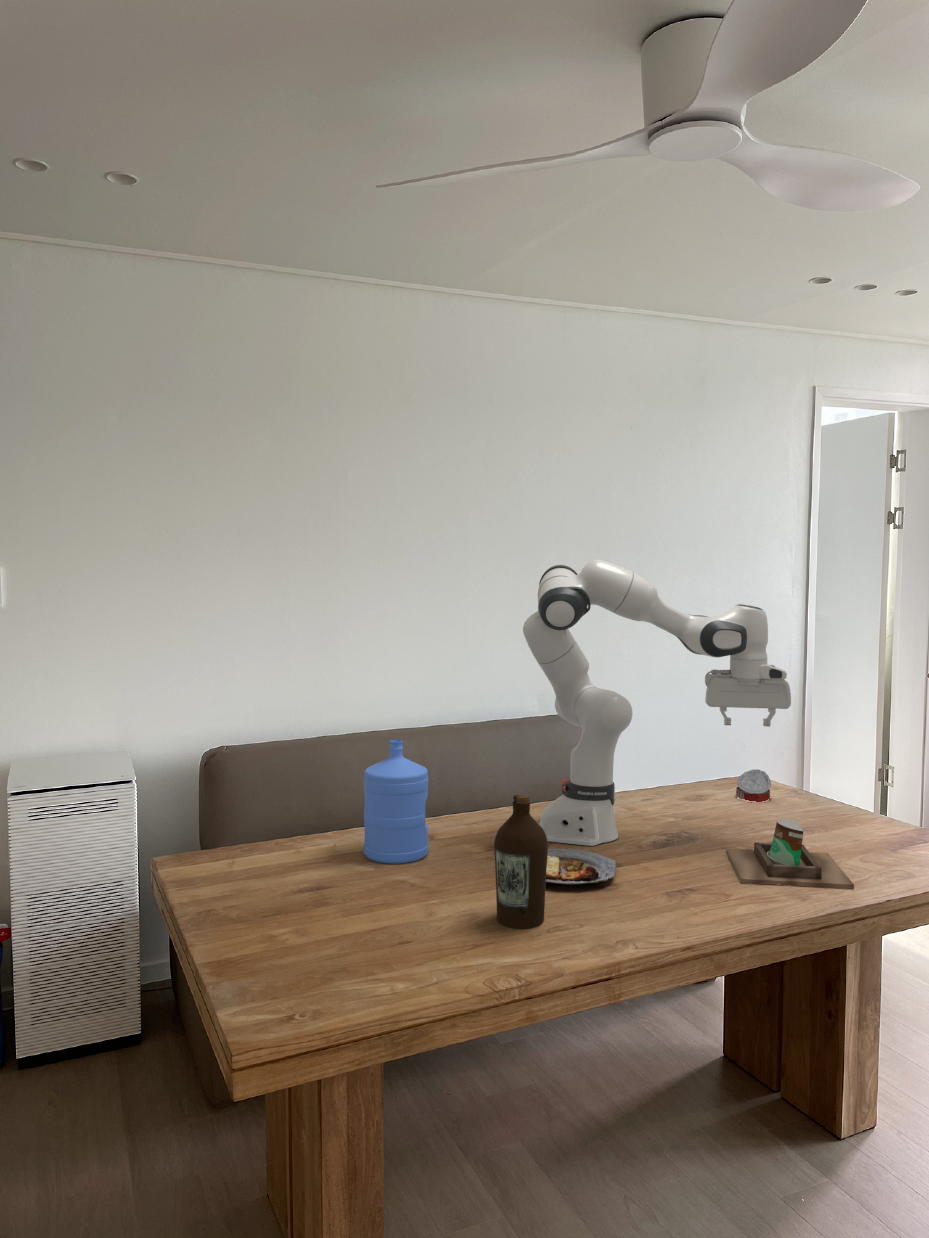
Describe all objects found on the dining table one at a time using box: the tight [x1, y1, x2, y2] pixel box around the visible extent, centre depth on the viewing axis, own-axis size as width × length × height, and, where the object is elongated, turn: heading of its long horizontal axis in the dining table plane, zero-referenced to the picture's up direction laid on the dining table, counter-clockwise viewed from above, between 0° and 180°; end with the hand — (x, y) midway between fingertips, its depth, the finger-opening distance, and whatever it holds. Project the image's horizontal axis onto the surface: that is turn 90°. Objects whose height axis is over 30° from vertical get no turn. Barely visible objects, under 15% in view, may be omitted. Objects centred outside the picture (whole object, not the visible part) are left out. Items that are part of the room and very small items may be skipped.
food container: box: [767, 818, 804, 866], centre depth 207 cm, size 12×6×10 cm, turn 170°
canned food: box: [735, 769, 772, 802], centre depth 273 cm, size 11×10×10 cm
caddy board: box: [725, 841, 855, 890], centre depth 209 cm, size 24×22×4 cm
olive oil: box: [493, 793, 549, 929], centre depth 178 cm, size 11×11×25 cm
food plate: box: [546, 848, 617, 886], centre depth 206 cm, size 25×23×4 cm
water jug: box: [363, 739, 429, 865], centre depth 218 cm, size 16×16×28 cm
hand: (747, 725), depth 223 cm, fingers open, 8 cm apart
